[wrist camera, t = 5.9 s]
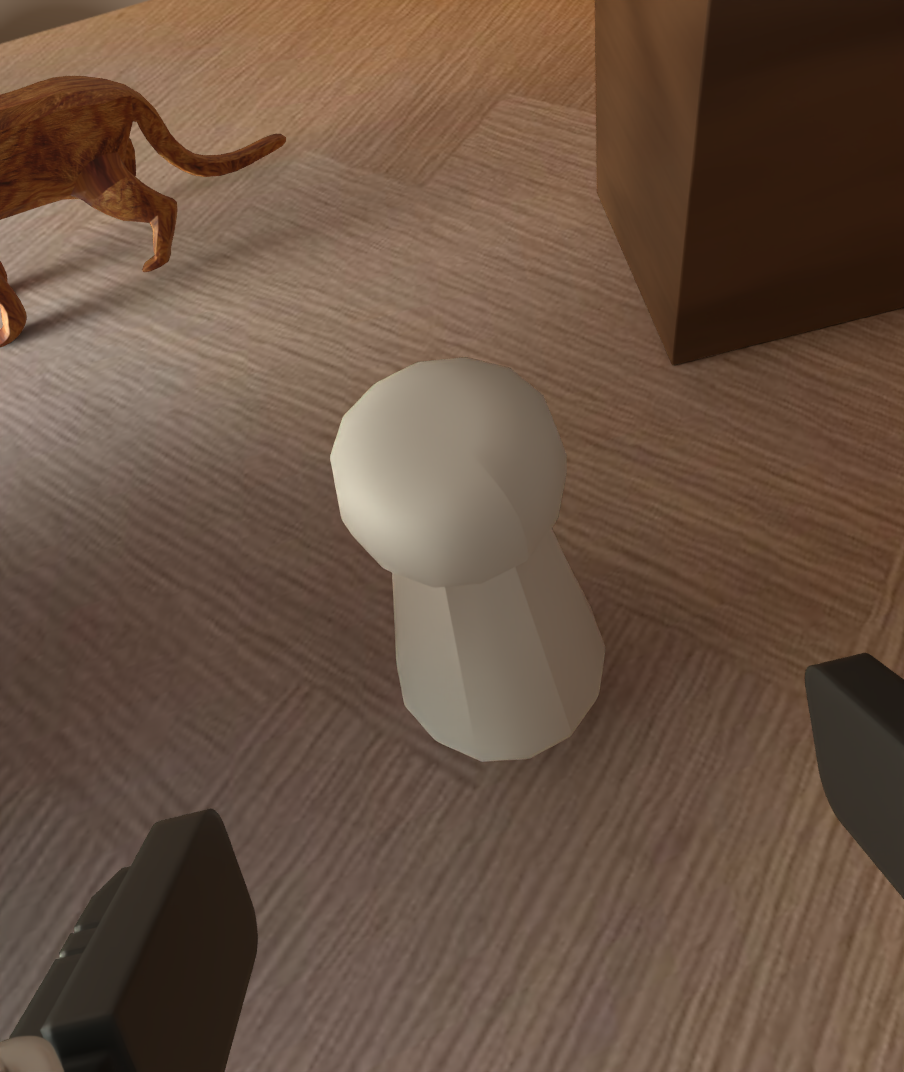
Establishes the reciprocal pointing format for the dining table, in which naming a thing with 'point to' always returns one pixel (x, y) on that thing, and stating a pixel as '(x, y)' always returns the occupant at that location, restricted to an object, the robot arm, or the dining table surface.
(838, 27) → the stand
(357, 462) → the salt shaker
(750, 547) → the dining table surface
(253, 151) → the cat figurine
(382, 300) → the dining table surface
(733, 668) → the dining table surface
